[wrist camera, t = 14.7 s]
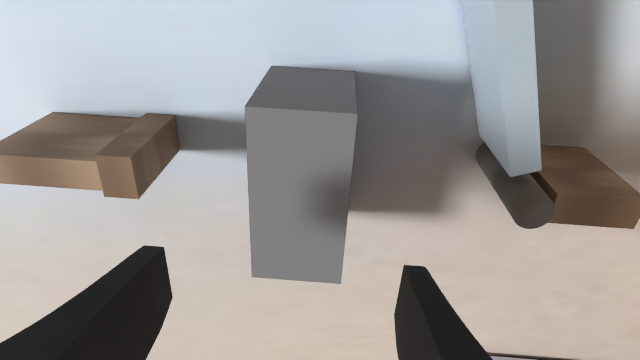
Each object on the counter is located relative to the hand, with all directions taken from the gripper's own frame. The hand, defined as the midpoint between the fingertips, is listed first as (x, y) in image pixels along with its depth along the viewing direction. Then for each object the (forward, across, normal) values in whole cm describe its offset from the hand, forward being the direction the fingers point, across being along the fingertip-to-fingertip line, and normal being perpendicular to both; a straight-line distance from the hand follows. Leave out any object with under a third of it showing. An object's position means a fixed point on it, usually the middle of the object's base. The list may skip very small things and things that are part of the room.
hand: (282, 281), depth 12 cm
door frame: (+10, 0, 0) cm, 10 cm away
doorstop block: (+10, 0, 0) cm, 11 cm away
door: (+10, -7, -7) cm, 14 cm away
